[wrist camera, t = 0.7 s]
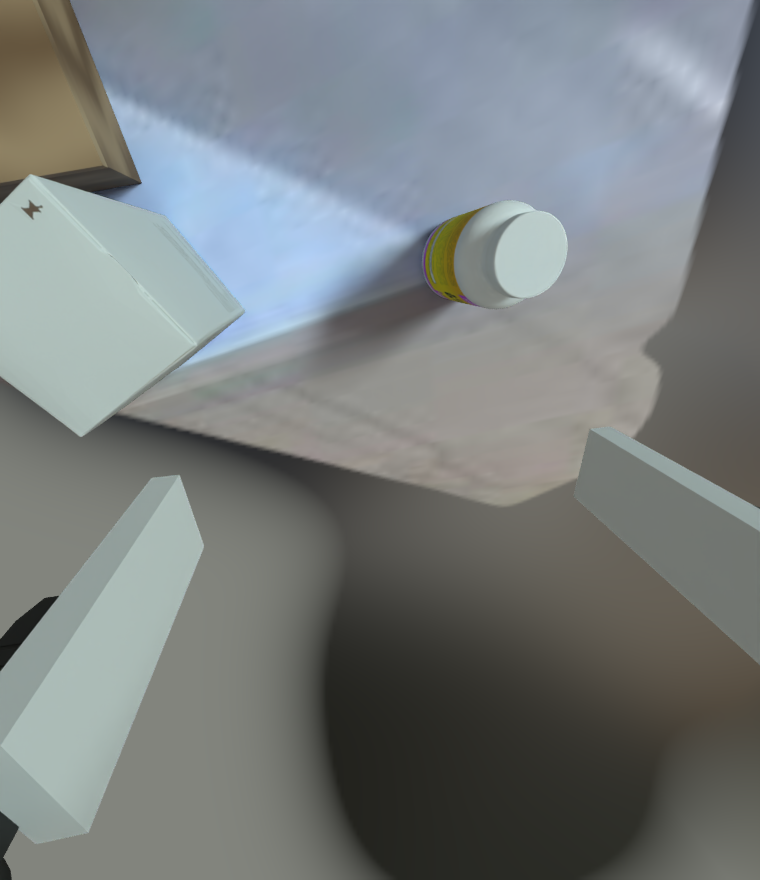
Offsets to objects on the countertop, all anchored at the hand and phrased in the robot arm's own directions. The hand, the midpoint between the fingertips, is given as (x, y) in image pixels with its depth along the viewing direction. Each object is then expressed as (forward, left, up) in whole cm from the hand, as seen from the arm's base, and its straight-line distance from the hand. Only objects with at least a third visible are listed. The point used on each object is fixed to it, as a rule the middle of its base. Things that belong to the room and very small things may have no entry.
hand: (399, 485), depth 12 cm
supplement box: (-4, -15, -25) cm, 30 cm away
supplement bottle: (-7, +10, -25) cm, 28 cm away
